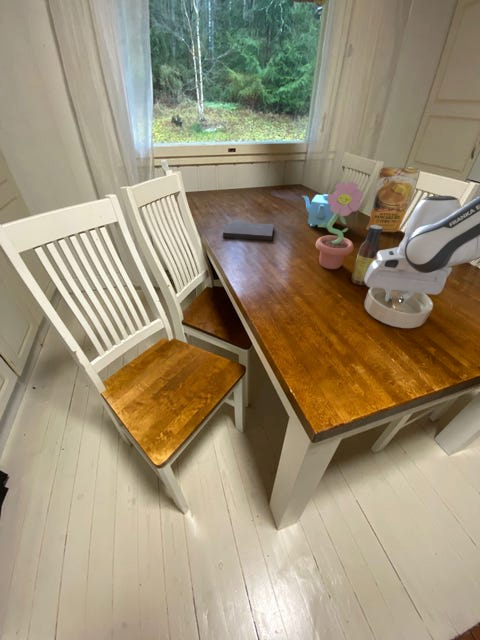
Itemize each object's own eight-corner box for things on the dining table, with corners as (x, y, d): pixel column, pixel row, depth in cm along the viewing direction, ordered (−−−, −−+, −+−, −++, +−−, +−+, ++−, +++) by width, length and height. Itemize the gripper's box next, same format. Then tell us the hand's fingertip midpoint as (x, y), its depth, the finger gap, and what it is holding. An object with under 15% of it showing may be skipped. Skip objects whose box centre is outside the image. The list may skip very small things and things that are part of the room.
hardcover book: (229, 225, 141) (229, 221, 140) (273, 228, 139) (273, 224, 137) (223, 237, 129) (222, 232, 128) (271, 241, 126) (271, 236, 125)
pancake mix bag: (360, 226, 142) (378, 166, 125) (398, 228, 141) (421, 167, 124) (363, 231, 137) (382, 169, 120) (403, 233, 136) (427, 170, 118)
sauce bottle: (371, 286, 96) (391, 231, 84) (353, 286, 96) (370, 230, 84) (364, 277, 101) (382, 223, 89) (347, 276, 101) (363, 223, 89)
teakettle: (324, 217, 154) (330, 188, 145) (346, 228, 140) (354, 197, 131) (295, 221, 148) (299, 192, 139) (316, 233, 135) (321, 202, 125)
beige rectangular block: (385, 296, 87) (387, 290, 86) (393, 297, 87) (396, 291, 85) (391, 314, 80) (394, 308, 78) (400, 316, 79) (403, 309, 78)
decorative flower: (304, 267, 107) (319, 184, 88) (314, 254, 116) (329, 176, 97) (343, 276, 101) (368, 190, 82) (350, 261, 111) (374, 181, 92)
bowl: (428, 307, 86) (436, 293, 83) (420, 337, 75) (428, 322, 72) (371, 290, 94) (377, 276, 91) (356, 315, 83) (362, 300, 80)
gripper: (450, 258, 74) (428, 300, 83) (371, 250, 78) (358, 291, 86) (460, 268, 69) (435, 312, 78) (375, 260, 73) (360, 302, 81)
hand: (394, 301), depth 82 cm, fingers closed on beige rectangular block, 2 cm apart
